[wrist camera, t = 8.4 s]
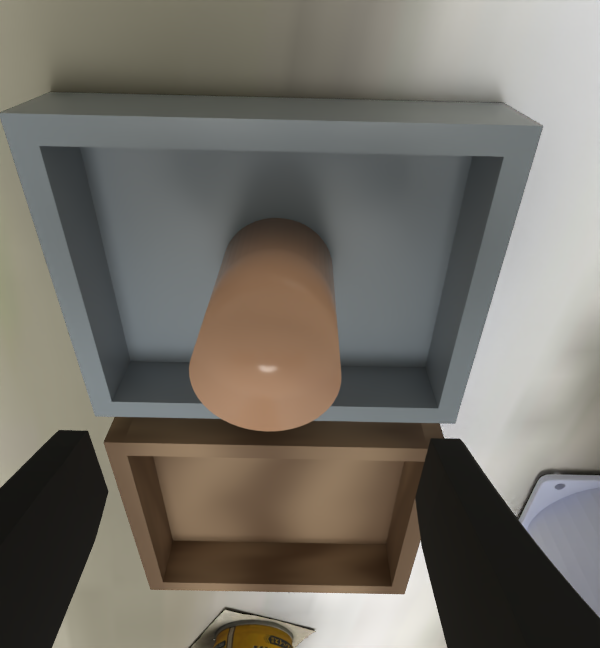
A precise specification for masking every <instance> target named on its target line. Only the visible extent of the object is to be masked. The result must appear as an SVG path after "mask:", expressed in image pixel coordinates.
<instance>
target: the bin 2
mask: <svg viewBox="0 0 600 648" xmlns="http://www.w3.org/2000/svg"><path fill="white" fill-rule="evenodd" d="M431 438H444V437H443V433H442V430H441V427H440V424H439V423H403V422H353V421H311V422H310V423H307V424H305V425H303V426H300V427H297V428H293V429H289V430H283V431H256V430H250V429H246V428H242V427H238V426H236V425H233V424H230V423H228V422H226V421H224V420H222V419H205V418H156V417H115V418H114V420H113V422H112V425H111V427H110V429H109V431H108V434H107V436H106V438H105V440H104V445H105V448H106V451H107V454H108V457H109V461H110V464H111V467H112V470H113V473H114V476H115V479H116V483H117V486H118V489H119V492H120V495H121V498H122V501H123V505H124V508H125V511H126V514H127V517H128V520H129V523H130V526H131V530H132V533H133V536H134V539H135V542H136V545H137V548H138V552H139V555H140V558H141V561H142V564H143V567H144V570H145V573H146V577H147V580H148V583H149V586H150V589H151V590H205V591H259V592H313V593H368V594H405V591H406V587H407V584H408V581H409V577H410V574H411V570H412V567H413V564H414V560H415V557H416V554H417V550H418V547H419V543H420V540H421V537H420V531H419V524H418V516H417V509H416V501H415V496H416V492H417V489H418V485H419V481H420V477H421V473H422V469H423V466H424V462H425V458H426V454H427V450H428V447H429V443H430V439H431Z"/></svg>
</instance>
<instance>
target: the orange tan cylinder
mask: <svg viewBox="0 0 600 648" xmlns="http://www.w3.org/2000/svg"><path fill="white" fill-rule="evenodd" d="M189 377H190V381H191V385H192V388H193V390H194V392H195V394H196V395H197V397H198V399H199V400H200V401H201V402H202V404H203V405H204V406H205V407H206V408H207V409H208V410H209V411H211V412H212V413H213V414H215V415H216V416H217V417H219V418H221V419H222V420H224V421H226V422H228V423H230V424H233V425H236V426H238V427H242V428H246V429H250V430H256V431H283V430H289V429H293V428H297V427H300V426H303V425H305V424H307V423H310V422H311V421H313V420H315V419H317V418H318V417H319V416H321V415H322V414H323V413H324V412H325V411H327V410H328V409H329V407H330V406H331V405H332V404H333V402H334V401H335V399H336V397H337V395H338V392H339V390H340V385H341V364H340V351H339V339H338V326H337V314H336V301H335V289H334V276H333V264H332V258H331V255H330V252H329V250H328V247H327V246H326V244H325V243H324V241H323V240H322V239H321V237H320V236H319V235H318V234H317V233H316V232H314V231H313V230H312V229H310V228H309V227H307V226H306V225H304V224H302V223H299V222H297V221H294V220H290V219H284V218H268V219H262V220H259V221H255V222H253V223H251V224H249V225H247V226H245V227H244V228H242V229H241V230H240V231H239V232H237V234H236V235H235V236H234V237H233V238H232V239H231V241H230V242H229V244H228V246H227V248H226V251H225V254H224V257H223V260H222V264H221V267H220V270H219V273H218V276H217V279H216V282H215V285H214V288H213V291H212V294H211V298H210V301H209V304H208V307H207V310H206V313H205V316H204V319H203V322H202V325H201V328H200V332H199V335H198V338H197V341H196V344H195V347H194V350H193V353H192V356H191V360H190V365H189Z"/></svg>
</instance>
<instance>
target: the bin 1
mask: <svg viewBox="0 0 600 648" xmlns="http://www.w3.org/2000/svg"><path fill="white" fill-rule="evenodd" d="M0 119H1V122H2V125H3V128H4V131H5V135H6V138H7V141H8V144H9V147H10V150H11V153H12V156H13V160H14V163H15V166H16V169H17V172H18V175H19V178H20V182H21V185H22V188H23V191H24V194H25V197H26V200H27V203H28V207H29V210H30V213H31V216H32V219H33V222H34V225H35V229H36V232H37V235H38V238H39V241H40V244H41V247H42V251H43V254H44V257H45V260H46V263H47V266H48V269H49V272H50V276H51V279H52V282H53V285H54V288H55V291H56V294H57V298H58V301H59V304H60V307H61V310H62V313H63V316H64V320H65V323H66V326H67V329H68V332H69V335H70V338H71V341H72V345H73V348H74V351H75V354H76V357H77V360H78V363H79V367H80V370H81V373H82V376H83V379H84V382H85V385H86V388H87V392H88V395H89V398H90V401H91V404H92V407H93V410H94V414H95V416H107V417H156V418H205V419H221V418H219V417H217V416H216V415H215V414H213V413H212V412H211V411H209V410H208V409H207V408H206V407H205V406H204V405H203V404H202V402H201V401H200V400H199V399H198V397H197V395H196V394H195V392H194V390H193V388H192V385H191V381H190V377H189V365H190V360H191V356H192V353H193V350H194V347H195V344H196V341H197V338H198V335H199V332H200V328H201V325H202V322H203V319H204V316H205V313H206V310H207V307H208V304H209V301H210V298H211V294H212V291H213V288H214V285H215V282H216V279H217V276H218V273H219V270H220V267H221V264H222V260H223V257H224V254H225V251H226V248H227V246H228V244H229V242H230V241H231V239H232V238H233V237H234V236H235V235H236V234H237V232H239V231H240V230H241V229H242V228H244V227H245V226H247V225H249V224H251V223H253V222H255V221H259V220H262V219H268V218H284V219H290V220H294V221H297V222H299V223H302V224H304V225H306V226H307V227H309V228H310V229H312V230H313V231H314V232H316V233H317V234H318V235H319V236H320V237H321V239H322V240H323V241H324V243H325V244H326V246H327V247H328V250H329V252H330V255H331V258H332V264H333V276H334V289H335V301H336V314H337V326H338V339H339V351H340V364H341V385H340V390H339V392H338V395H337V397H336V399H335V401H334V402H333V404H332V405H331V406H330V407H329V409H328V410H327V411H325V412H324V413H323V414H322V415H321V416H319V417H318V418H317V419H315V420H313V421H353V422H403V423H452V424H455V422H456V419H457V415H458V412H459V408H460V405H461V402H462V398H463V395H464V392H465V388H466V385H467V381H468V378H469V375H470V371H471V368H472V365H473V361H474V358H475V354H476V351H477V348H478V344H479V341H480V338H481V334H482V331H483V327H484V324H485V321H486V317H487V314H488V311H489V307H490V304H491V300H492V297H493V294H494V290H495V287H496V284H497V280H498V277H499V273H500V270H501V267H502V263H503V260H504V257H505V253H506V250H507V246H508V243H509V240H510V236H511V233H512V230H513V226H514V223H515V219H516V216H517V213H518V209H519V206H520V203H521V199H522V196H523V192H524V189H525V186H526V182H527V179H528V176H529V172H530V169H531V165H532V162H533V159H534V155H535V152H536V149H537V145H538V142H539V138H540V135H541V132H542V128H543V125H541V124H539V123H537V122H536V121H534V120H532V119H531V118H529V117H527V116H525V115H524V114H522V113H520V112H519V111H517V110H515V109H513V108H512V107H510V106H508V105H507V104H505V103H489V102H447V101H405V100H363V99H322V98H280V97H238V96H196V95H154V94H112V93H70V92H48V93H46V94H44V95H41V96H39V97H36V98H34V99H31V100H29V101H27V102H24V103H22V104H19V105H17V106H14V107H12V108H10V109H7V110H5V111H2V112H0Z"/></svg>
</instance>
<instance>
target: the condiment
mask: <svg viewBox="0 0 600 648" xmlns="http://www.w3.org/2000/svg"><path fill="white" fill-rule="evenodd" d="M313 632H316V631H313V630H309V629H305V628H302V627H298V626H294V625H292V624H288V623H284V622H280V621H277V620H273V619H267V618H262V617H259V616H254V615H247V614H246V615H244V614H241V613H236V612H232V611H228V610H224V611H223V612H222V613H221V614H220V615H219V616H218V617H217V618H216V619H215V620H214V622H213V623H212V624H211V625H210V626H209V627H208V629H206V630H205V632H204V633H203V634H202V636H201V637H200V639H199V640H197V641H196V643H194V644H193V645H192V647H191V648H294V647H296V646H297V645H298V644H299V643H301V642H302V641H303V640H304V639H305V638H307V637H308V636H309V635H310V634H312V633H313ZM213 639H215V640H213Z"/></svg>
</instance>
